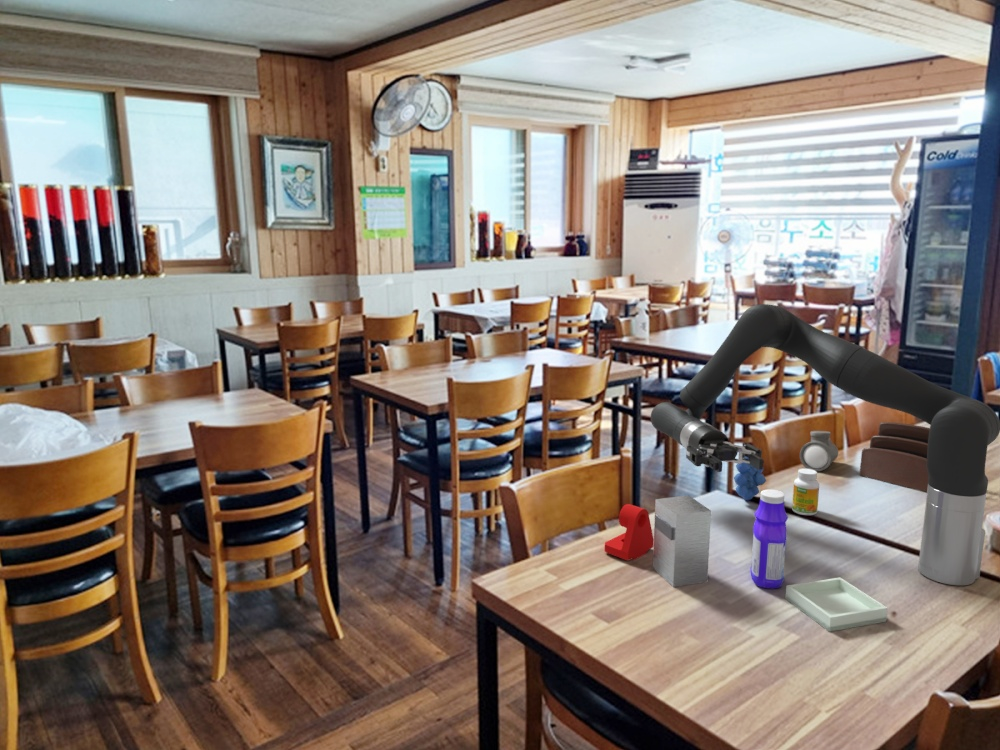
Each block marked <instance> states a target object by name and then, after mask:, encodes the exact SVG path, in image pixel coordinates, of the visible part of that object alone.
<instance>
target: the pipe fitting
mask: <svg viewBox="0 0 1000 750" xmlns="http://www.w3.org/2000/svg"><path fill="white" fill-rule="evenodd" d="M830 437H831V432H830V431H828V430H827V431H826V430H811V431H810V441H809V442H807V443H805V444H804V445H802V447H801V449H800V452H799V460H800V462H801V464H802V465H803V467H804V468H805V469H812V470H815V471H816V472H817V473H818V472H822V471H824V470H827V469H828V468H829V467H830V466H831V465H832V463H833V462H834V461H836V460H837V458H838V456H839V449H838V447H837V446H836V445H835V443H833V442H832V439H831V438H830Z"/></svg>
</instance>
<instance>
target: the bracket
mask: <svg viewBox="0 0 1000 750" xmlns="http://www.w3.org/2000/svg"><path fill="white" fill-rule="evenodd" d="M650 520H651V519H650V514H649V511H648V510H647V509H646V508H643V507H640V506H636V505H633V504H630V503H626V504H624V505H623V506H622V507H621V509H620V512H619V515H618V522H619V525H620V526H621V527H623V528H626V531H625V532H623V533H621V534H620V535H617V536H615V537H613V538H611V539H608V540H607V541H605V542H604V552H605V553H607V554H609V555H612V556H614V557H617V558H620V559H622V560H625V561H628V562H629V561H630V560H634V561H635V560H637V559H639V558H640V557H643V556H644V555H646V554H648V551H649V550H651V549H654V533H653V529H652V526H651V525H652V524H651V521H650Z"/></svg>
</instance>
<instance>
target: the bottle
mask: <svg viewBox="0 0 1000 750" xmlns="http://www.w3.org/2000/svg"><path fill="white" fill-rule="evenodd" d="M758 504H759V505H758V507H757V508H756V510H755V512H754V517H755V521H754V524H753V528H752V531H753V536H752V551H751V561H750V562H751V563H750V567H749V568H750V576H751V580H752V582H753V583H754V584H755V585H756V587H757V586H758V587H759V588H764V589H779V588H781V587H782V585H783V582H784V578H785V577H784V572H785V571H784V570H785V556H786V546H787V545H786V543H787V537H788V532H787V531H788V530H787V524H786V523H787V520H788V518H789V517H788V514H787V513H786V510H785V493H784V492H782V491H780V490H777V489H771V488H770V489H763V490H761V492H760V499H759V503H758Z"/></svg>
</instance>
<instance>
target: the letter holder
mask: <svg viewBox="0 0 1000 750" xmlns="http://www.w3.org/2000/svg"><path fill="white" fill-rule="evenodd" d="M929 431H930V427H926V426H923V425H922V426H920V425H915V424H909V423H904V422H903V423H901V422H893V421H891V422H889V421H888V422H887V421H883V422H880V423H879V425H878V434H876V435H872V436H871V437H870V443H869V447H865V448H863V449H862V450H861V456H860V457H861V458H860V465H859V476H860V477H863V476H864V478H867V477H868V479H872V480H876V481H881V482H883V483H888V484H892V485H896V486H900V487H903V488H908V489H911V490H915V491H919V492H923V493H926V494H927V488H928V478H929V475H928V471H927V451H928V439H929Z"/></svg>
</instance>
